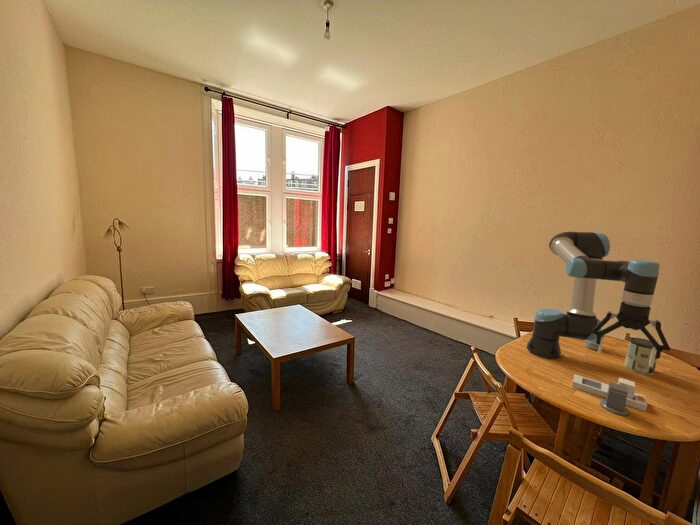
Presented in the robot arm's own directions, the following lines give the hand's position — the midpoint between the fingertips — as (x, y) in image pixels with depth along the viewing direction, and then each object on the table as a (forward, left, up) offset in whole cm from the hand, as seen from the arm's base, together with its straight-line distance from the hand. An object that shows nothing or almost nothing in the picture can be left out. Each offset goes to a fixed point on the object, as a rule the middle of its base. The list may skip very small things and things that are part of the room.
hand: (624, 358), depth 104 cm
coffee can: (+10, +48, -20) cm, 53 cm away
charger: (0, 0, -19) cm, 19 cm away
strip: (-2, +10, -20) cm, 22 cm away
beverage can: (-7, +62, -20) cm, 65 cm away
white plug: (+3, +10, -19) cm, 21 cm away
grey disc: (0, 0, -20) cm, 20 cm away
